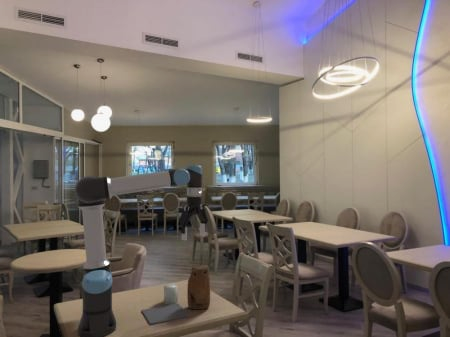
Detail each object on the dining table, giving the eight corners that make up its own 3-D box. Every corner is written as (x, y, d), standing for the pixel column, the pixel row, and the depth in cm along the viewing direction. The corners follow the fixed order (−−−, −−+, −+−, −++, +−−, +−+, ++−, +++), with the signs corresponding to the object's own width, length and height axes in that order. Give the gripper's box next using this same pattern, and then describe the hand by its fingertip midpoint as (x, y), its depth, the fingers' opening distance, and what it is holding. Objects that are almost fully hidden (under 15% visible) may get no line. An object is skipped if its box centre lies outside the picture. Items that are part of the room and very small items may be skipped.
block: (208, 303, 170) (208, 263, 170) (210, 309, 163) (210, 268, 163) (187, 305, 168) (187, 264, 168) (188, 311, 161) (188, 269, 161)
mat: (150, 325, 147) (150, 323, 147) (141, 311, 161) (141, 310, 161) (189, 316, 155) (189, 315, 155) (177, 304, 169) (177, 303, 169)
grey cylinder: (166, 305, 168) (166, 289, 168) (162, 300, 174) (162, 285, 174) (179, 302, 171) (179, 287, 171) (175, 298, 177) (175, 282, 177)
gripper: (182, 197, 158) (181, 243, 158) (215, 195, 178) (214, 235, 178) (171, 196, 162) (170, 241, 162) (204, 194, 182) (203, 233, 182)
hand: (193, 238), depth 170 cm, fingers open, 13 cm apart
